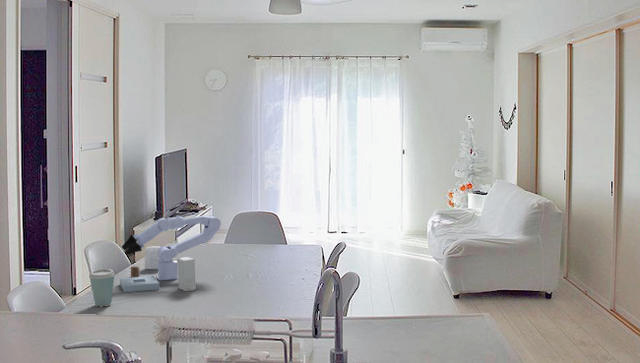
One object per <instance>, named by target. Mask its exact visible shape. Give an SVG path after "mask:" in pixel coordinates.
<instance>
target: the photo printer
mask: <svg viewBox="0 0 640 363" xmlns="http://www.w3.org/2000/svg"><path fill="white" fill-rule="evenodd" d="M160 247H161V246H158V245H152V246H147V247H146V248H145V250H144V270H158V260H159V258H160V257H159V256H158V253H157V252H158V249H159V248H160Z"/></svg>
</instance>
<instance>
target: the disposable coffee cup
mask: <svg viewBox="0 0 640 363" xmlns="http://www.w3.org/2000/svg"><path fill="white" fill-rule="evenodd" d="M89 280H90V284H91V285H90V286H91V290H92V295H93V300H94V305H95V307H97V306H100V307H99V308H104V307H103V306H106V307H109V306H111V305H112V299H113V290H114V280H115V272H114V270H113V269H110V268H98V269H95V270H94V269H93V271H90V274H89Z"/></svg>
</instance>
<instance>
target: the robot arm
mask: <svg viewBox="0 0 640 363" xmlns="http://www.w3.org/2000/svg"><path fill="white" fill-rule="evenodd" d="M198 224H201V225H203V230H202V232H200V233H198V234H195V235H193V236H191V237H189V238H187V239H184V240H182V241H180V242H179V241H178V243H175V244H171V245H167V246H165V245H163V246H159V247H160V248H159V249H158V252H157V253H158V256H159V257H160V258H159V260H158V269H157V276H156V277H155V278H156V280H157V281H168V280H169V281H170V280H178V260H174V258H175V257H176V258H177V256H178V255H179V254H181V253H183V252H186V251H189V250H190V249H192V248H195V247H196V246H200V245H201V244H203V243H205V242H208V241H210V240H212V238H213V237H214V236H215V234H216V233H217V232H218V231H219V230H220V228H221V224H222V223H221V220H220V219H219V218H218V217H215V216H214V215H210V214H209V215H199V216H194V217H193V216H192V217H186V218H184V217H183V216H180V215H175V216H174V217H169V216H167V217H166V218H164V217H160V218H158V219H157V221H155V223H153V224H152V225H150V226H149V227H147V228H146V229H145V230H143V231H142V232H141V231H140V233H134V235H133V234H130V235H129V236H128V239H127V240H126V241H125V242H124V243H123V245H122V246H121V248H122V249H123V250H124V252H125V254H126V255H127V256H129V255H131V254H132V255H133V254H134V253H138V252H142V251H143V248H145V245H146V244H147V243H149V242H151V240H153V239H154V238H156V237H157V236H159V235H160V234H162V233H163V232H165V231H166V232H167V231H169V230H173V229H174V230H175V229H182V228H184V227H185V226H186V225H188V226H189V225H198Z"/></svg>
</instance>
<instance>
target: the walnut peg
mask: <svg viewBox="0 0 640 363" xmlns="http://www.w3.org/2000/svg"><path fill="white" fill-rule="evenodd" d="M132 277H140V266H138V265H134V266H131V267H130V278H132Z"/></svg>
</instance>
